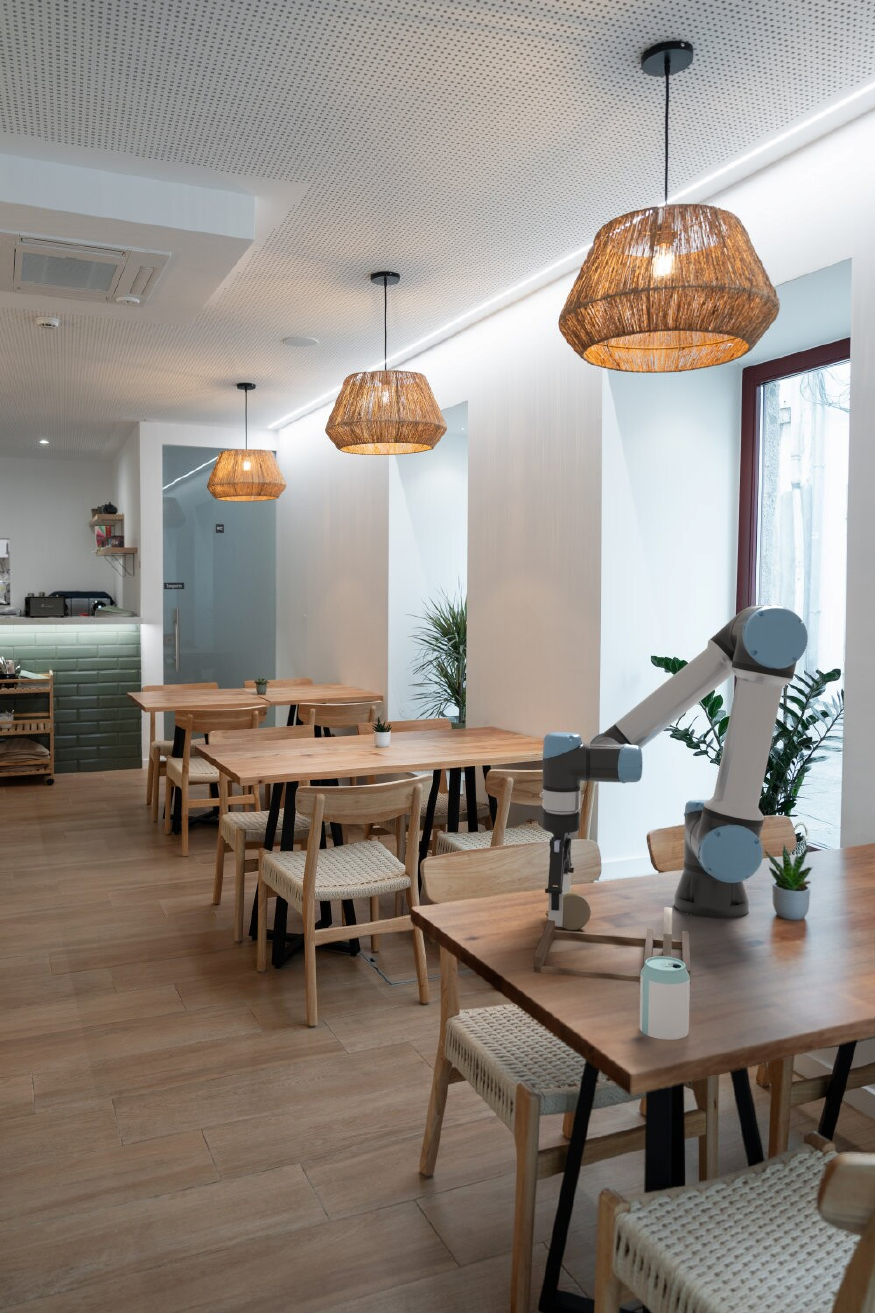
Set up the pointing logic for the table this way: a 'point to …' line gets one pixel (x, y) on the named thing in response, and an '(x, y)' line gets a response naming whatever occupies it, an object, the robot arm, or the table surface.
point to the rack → (606, 947)
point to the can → (664, 998)
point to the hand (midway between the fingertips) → (559, 915)
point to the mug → (575, 911)
